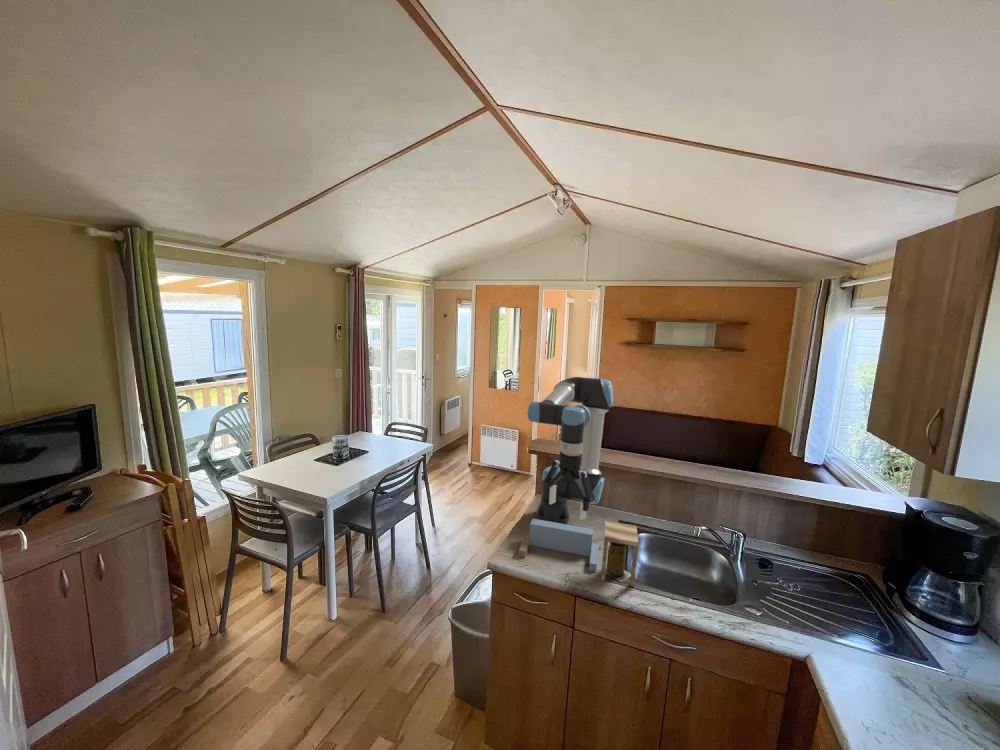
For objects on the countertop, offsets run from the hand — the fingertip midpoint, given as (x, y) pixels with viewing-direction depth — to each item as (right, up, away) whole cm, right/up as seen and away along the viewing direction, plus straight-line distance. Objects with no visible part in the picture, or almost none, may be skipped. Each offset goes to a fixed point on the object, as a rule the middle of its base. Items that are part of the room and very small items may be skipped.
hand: (566, 510), depth 144 cm
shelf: (+19, -24, +4) cm, 31 cm away
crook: (0, -22, +15) cm, 26 cm away
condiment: (+19, -24, +5) cm, 31 cm away
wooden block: (-14, -21, +16) cm, 30 cm away
